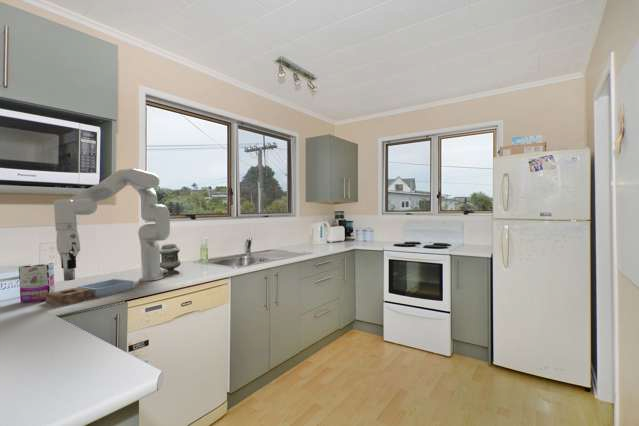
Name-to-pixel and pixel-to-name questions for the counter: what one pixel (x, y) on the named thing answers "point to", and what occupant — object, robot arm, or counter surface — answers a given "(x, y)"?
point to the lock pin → (68, 273)
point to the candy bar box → (36, 281)
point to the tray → (108, 287)
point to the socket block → (68, 296)
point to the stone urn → (169, 258)
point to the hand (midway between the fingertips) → (69, 267)
